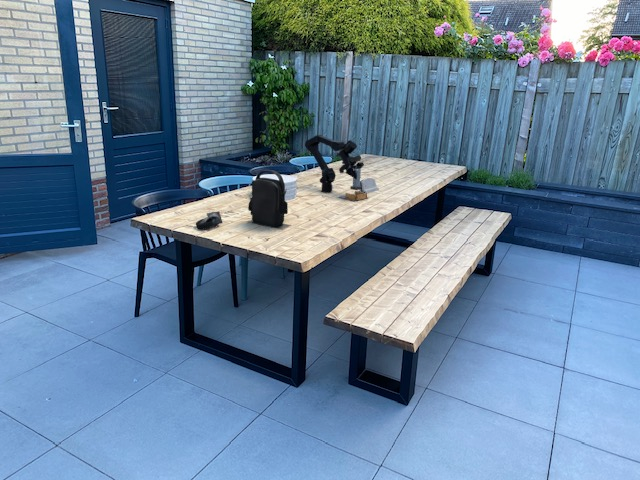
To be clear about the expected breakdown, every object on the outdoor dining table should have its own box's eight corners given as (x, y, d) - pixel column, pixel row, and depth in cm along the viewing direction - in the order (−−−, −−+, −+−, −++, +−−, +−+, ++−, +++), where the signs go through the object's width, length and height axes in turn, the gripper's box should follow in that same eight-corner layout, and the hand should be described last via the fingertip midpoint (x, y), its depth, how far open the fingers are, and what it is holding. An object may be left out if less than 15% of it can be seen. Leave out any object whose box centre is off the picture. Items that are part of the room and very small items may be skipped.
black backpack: (292, 225, 248) (293, 171, 239) (282, 229, 240) (283, 174, 232) (257, 218, 258) (256, 166, 250) (246, 222, 251) (245, 168, 242)
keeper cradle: (338, 197, 310) (339, 192, 309) (352, 194, 319) (353, 189, 318) (354, 201, 301) (354, 196, 300) (368, 198, 311) (368, 193, 310)
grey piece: (350, 188, 307) (351, 168, 303) (355, 187, 311) (356, 167, 307) (356, 190, 304) (357, 169, 300) (361, 189, 308) (362, 168, 303)
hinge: (366, 193, 324) (362, 179, 323) (360, 194, 327) (357, 180, 326) (379, 189, 336) (375, 175, 335) (373, 191, 339) (370, 177, 338)
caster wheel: (196, 234, 237) (202, 225, 246) (218, 231, 235) (223, 222, 244) (192, 222, 234) (198, 214, 243) (214, 219, 232) (219, 210, 241)
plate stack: (290, 202, 294) (290, 184, 290) (246, 199, 299) (246, 181, 295) (301, 193, 320) (301, 176, 316) (260, 189, 325) (260, 173, 321)
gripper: (343, 151, 296) (356, 172, 292) (362, 149, 309) (375, 169, 305) (333, 162, 304) (345, 183, 300) (352, 160, 316) (364, 179, 313)
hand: (358, 178), depth 304 cm, fingers closed on grey piece, 3 cm apart
